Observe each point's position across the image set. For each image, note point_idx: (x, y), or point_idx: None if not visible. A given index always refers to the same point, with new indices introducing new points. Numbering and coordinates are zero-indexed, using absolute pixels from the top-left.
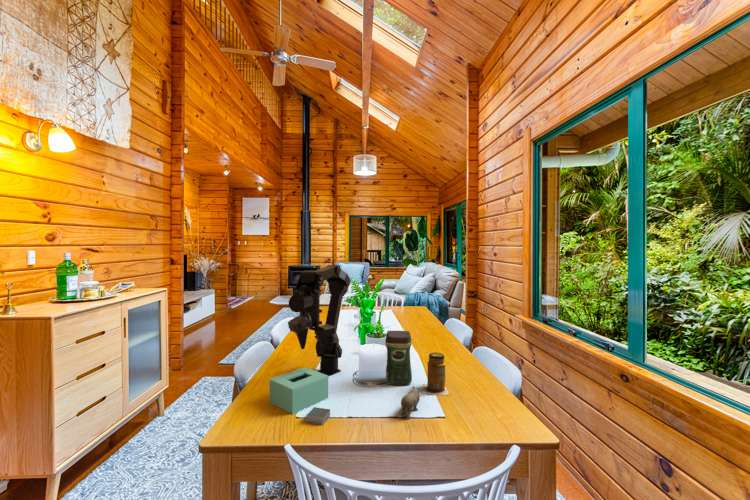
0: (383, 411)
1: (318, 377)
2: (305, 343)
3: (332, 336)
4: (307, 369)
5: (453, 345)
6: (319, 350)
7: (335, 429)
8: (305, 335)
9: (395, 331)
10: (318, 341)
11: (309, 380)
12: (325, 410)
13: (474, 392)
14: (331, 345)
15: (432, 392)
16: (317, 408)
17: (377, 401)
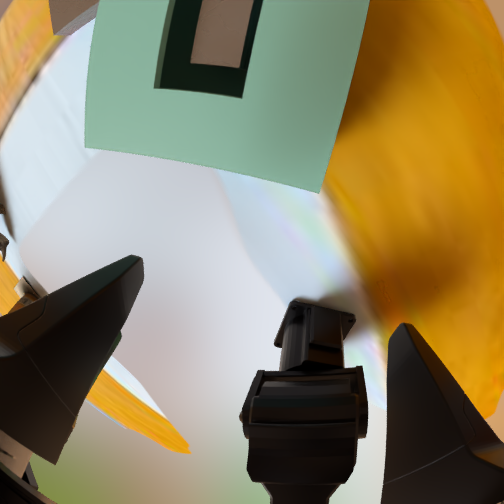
0: (11, 159)
1: (104, 91)
2: (388, 388)
3: (253, 468)
4: (266, 160)
5: (163, 444)
6: (93, 273)
7: (34, 12)
8: (398, 464)
9: None
10: (13, 335)
11: (117, 24)
12: (59, 19)
13: (10, 306)
14: (257, 420)
15: (27, 288)
16: (85, 5)
17: (42, 197)
